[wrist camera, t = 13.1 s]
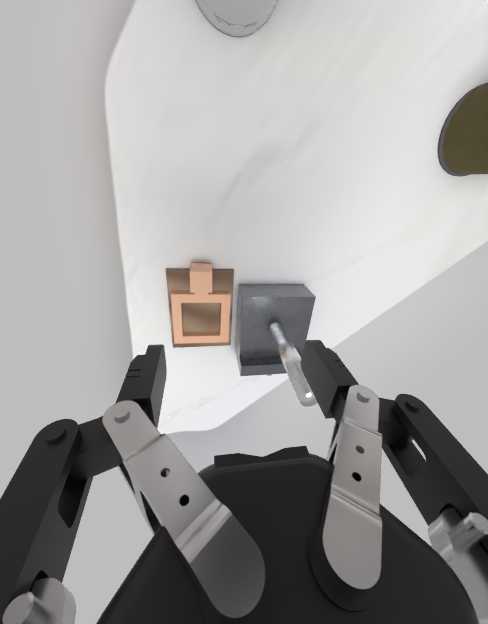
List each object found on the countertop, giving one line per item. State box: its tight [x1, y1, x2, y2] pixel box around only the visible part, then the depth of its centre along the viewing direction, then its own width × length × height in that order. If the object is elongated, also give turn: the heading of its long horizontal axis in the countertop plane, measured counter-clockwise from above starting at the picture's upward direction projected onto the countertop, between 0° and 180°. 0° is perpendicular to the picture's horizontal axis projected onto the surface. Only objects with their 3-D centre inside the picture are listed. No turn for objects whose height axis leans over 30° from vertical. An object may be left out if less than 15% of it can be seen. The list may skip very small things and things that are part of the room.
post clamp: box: [235, 284, 318, 406], centre depth 35 cm, size 15×11×19 cm
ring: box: [171, 263, 231, 344], centre depth 37 cm, size 14×9×4 cm, turn 176°
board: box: [166, 269, 234, 348], centre depth 40 cm, size 14×10×1 cm
